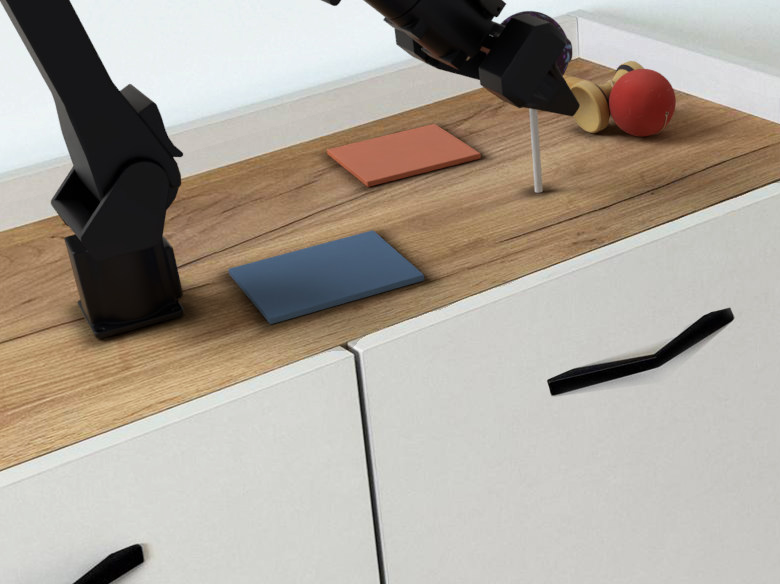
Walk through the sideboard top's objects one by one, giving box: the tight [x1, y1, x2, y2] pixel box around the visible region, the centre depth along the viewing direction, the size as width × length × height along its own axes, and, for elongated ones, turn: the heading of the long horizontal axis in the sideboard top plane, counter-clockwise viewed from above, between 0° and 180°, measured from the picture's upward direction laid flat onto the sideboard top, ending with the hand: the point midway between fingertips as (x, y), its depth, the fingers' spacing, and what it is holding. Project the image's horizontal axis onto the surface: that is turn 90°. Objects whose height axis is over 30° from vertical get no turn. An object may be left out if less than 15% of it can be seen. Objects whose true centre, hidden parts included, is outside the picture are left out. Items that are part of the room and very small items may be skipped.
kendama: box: [563, 60, 677, 137], centre depth 124 cm, size 8×6×18 cm
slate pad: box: [227, 229, 425, 325], centre depth 99 cm, size 12×10×1 cm
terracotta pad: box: [326, 123, 482, 188], centre depth 120 cm, size 11×10×1 cm
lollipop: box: [486, 10, 573, 194], centre depth 107 cm, size 7×7×15 cm
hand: (545, 96), depth 107 cm, fingers open, 9 cm apart
